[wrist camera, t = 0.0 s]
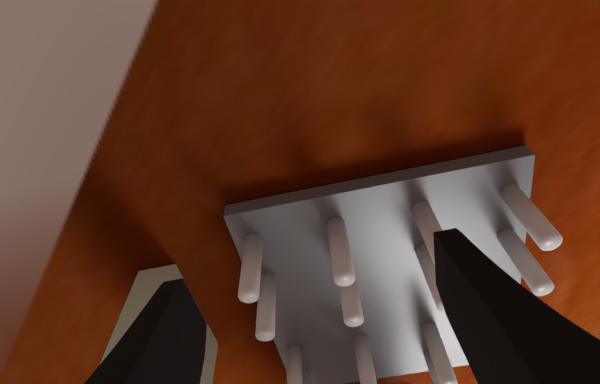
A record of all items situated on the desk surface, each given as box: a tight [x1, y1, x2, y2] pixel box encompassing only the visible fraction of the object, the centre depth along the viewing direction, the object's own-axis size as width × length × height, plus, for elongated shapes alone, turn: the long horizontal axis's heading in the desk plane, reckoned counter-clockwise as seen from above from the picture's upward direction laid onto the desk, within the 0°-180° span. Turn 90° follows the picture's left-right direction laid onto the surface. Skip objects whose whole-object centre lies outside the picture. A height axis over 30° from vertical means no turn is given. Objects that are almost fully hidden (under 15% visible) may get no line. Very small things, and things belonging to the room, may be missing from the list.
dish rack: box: [223, 146, 563, 384], centre depth 24 cm, size 17×16×5 cm
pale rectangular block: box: [100, 264, 218, 384], centre depth 24 cm, size 8×2×8 cm, turn 12°
